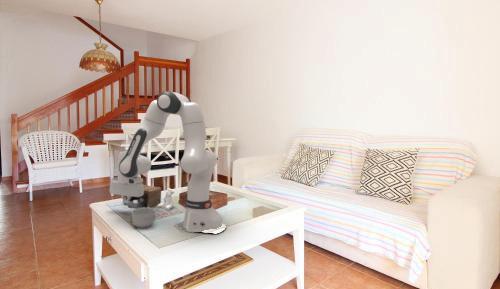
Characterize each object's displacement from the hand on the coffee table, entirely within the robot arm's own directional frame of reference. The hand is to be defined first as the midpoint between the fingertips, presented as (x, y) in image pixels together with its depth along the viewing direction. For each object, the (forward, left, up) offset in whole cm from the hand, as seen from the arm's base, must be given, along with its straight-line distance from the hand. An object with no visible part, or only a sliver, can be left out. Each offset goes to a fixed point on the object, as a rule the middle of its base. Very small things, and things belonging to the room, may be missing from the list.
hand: (126, 203), depth 159 cm
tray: (+4, -16, -6) cm, 17 cm away
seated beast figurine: (-13, -20, -6) cm, 25 cm away
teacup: (-19, +10, -6) cm, 23 cm away
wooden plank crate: (+4, -19, -6) cm, 20 cm away
